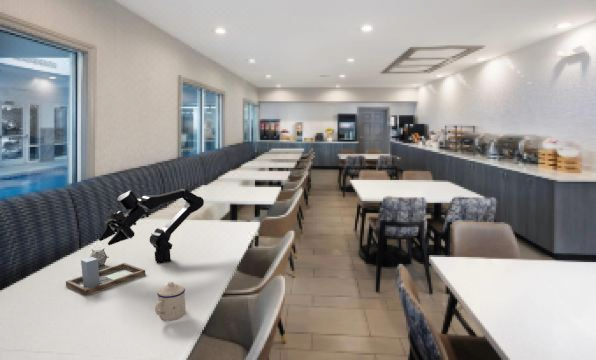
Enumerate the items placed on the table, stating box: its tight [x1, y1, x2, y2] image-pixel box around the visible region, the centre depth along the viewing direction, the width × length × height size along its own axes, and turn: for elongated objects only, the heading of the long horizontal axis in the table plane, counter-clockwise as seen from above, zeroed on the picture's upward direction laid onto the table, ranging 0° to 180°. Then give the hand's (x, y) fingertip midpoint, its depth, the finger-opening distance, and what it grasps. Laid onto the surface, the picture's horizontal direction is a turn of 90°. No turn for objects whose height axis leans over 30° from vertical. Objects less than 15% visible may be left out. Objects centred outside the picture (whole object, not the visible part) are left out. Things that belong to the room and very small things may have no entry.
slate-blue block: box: [80, 256, 100, 289], centre depth 160 cm, size 4×4×11 cm
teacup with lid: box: [154, 281, 187, 321], centre depth 133 cm, size 12×9×12 cm
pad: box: [104, 271, 127, 280], centre depth 170 cm, size 6×7×1 cm
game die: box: [88, 248, 110, 267], centre depth 182 cm, size 9×8×10 cm
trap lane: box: [65, 262, 146, 296], centre depth 166 cm, size 26×16×2 cm, turn 144°
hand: (103, 242), depth 167 cm, fingers open, 9 cm apart
